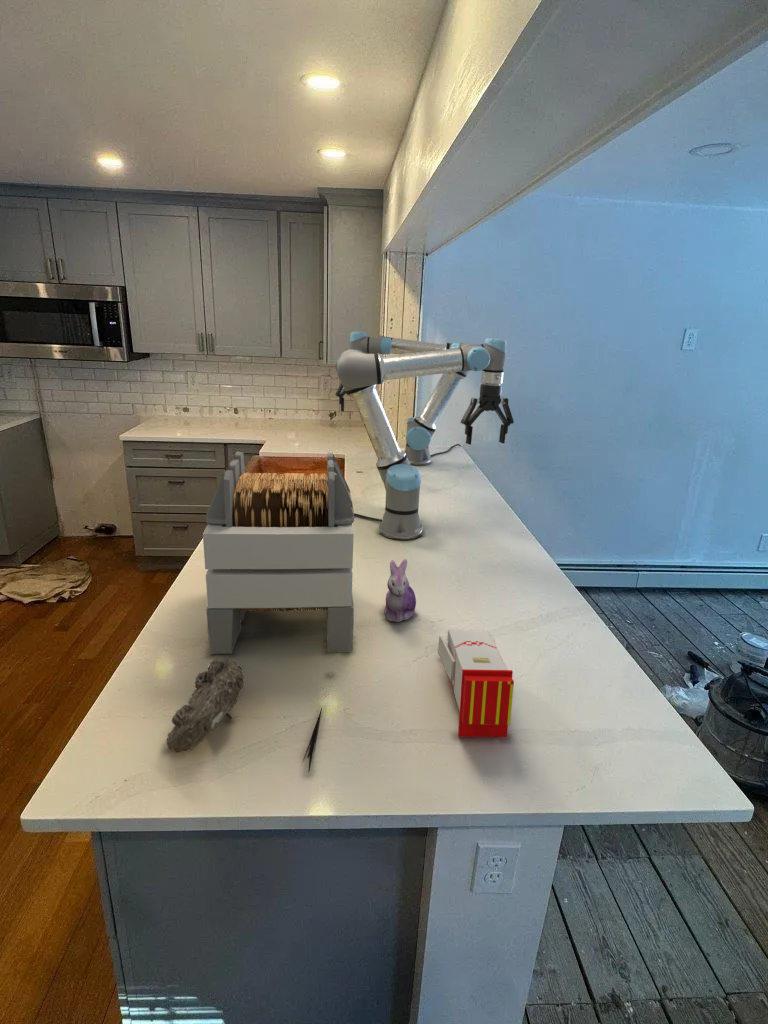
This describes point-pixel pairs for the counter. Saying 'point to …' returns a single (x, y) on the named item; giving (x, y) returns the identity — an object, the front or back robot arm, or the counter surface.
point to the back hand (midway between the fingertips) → (355, 411)
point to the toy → (478, 682)
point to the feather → (313, 740)
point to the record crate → (279, 550)
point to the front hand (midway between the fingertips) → (485, 443)
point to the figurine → (399, 594)
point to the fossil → (206, 705)
